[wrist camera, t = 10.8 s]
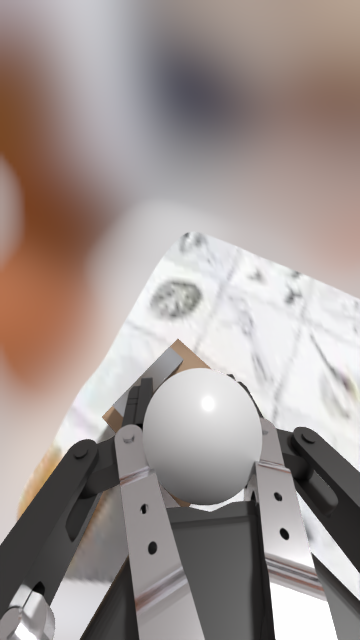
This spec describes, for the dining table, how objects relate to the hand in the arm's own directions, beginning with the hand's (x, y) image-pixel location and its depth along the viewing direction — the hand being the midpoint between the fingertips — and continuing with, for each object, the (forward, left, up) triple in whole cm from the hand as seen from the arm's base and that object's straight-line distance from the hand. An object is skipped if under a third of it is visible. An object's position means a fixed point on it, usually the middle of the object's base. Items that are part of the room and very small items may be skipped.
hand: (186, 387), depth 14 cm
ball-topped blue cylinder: (+1, +1, -5) cm, 5 cm away
